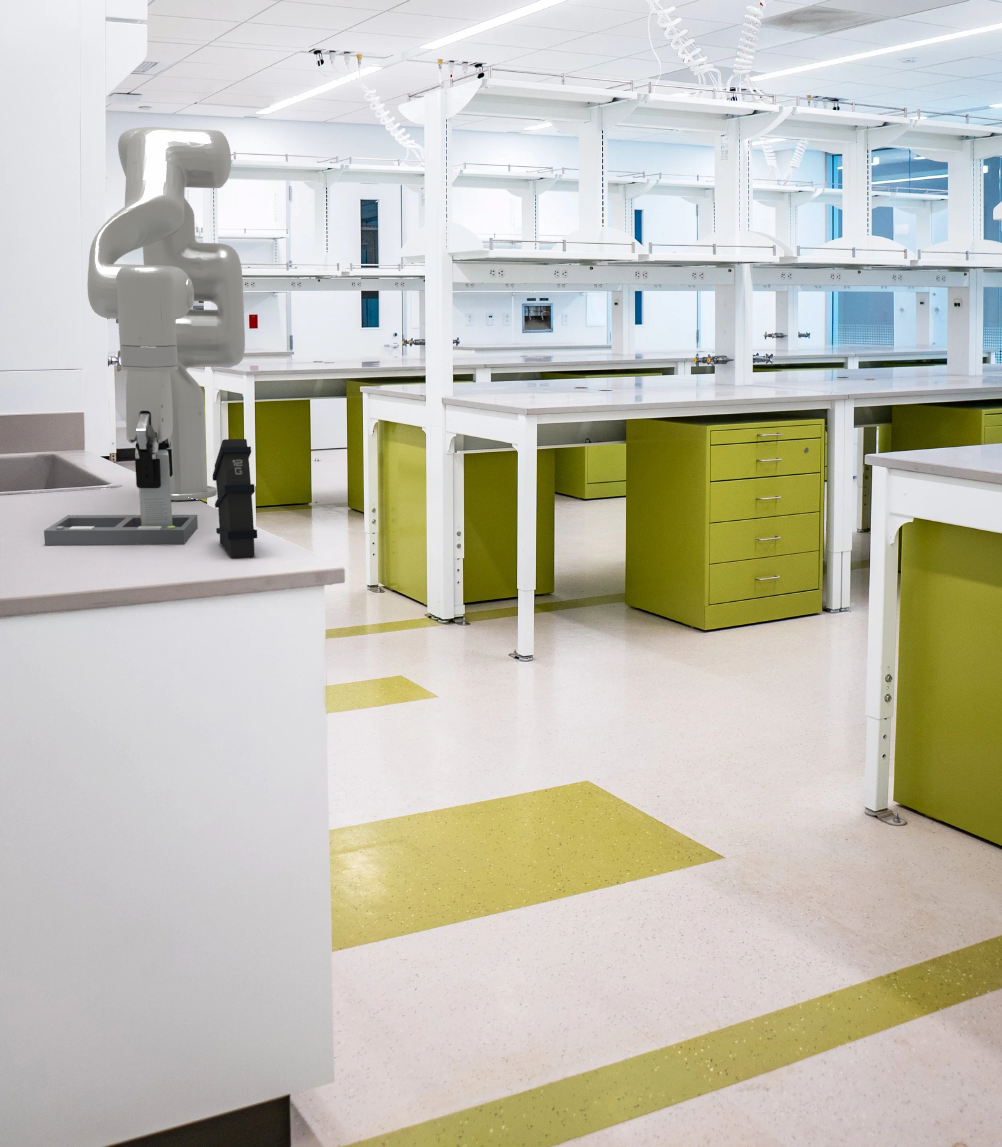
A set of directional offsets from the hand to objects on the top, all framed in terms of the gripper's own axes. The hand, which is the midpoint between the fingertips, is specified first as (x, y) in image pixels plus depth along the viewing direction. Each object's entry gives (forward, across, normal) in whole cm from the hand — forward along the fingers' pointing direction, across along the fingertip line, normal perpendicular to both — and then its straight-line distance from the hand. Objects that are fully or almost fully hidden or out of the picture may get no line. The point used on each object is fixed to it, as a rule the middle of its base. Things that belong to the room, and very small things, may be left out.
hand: (155, 482), depth 167 cm
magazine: (+7, +11, +12) cm, 18 cm away
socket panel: (+8, +1, -4) cm, 9 cm away
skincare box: (+8, +1, 0) cm, 8 cm away
